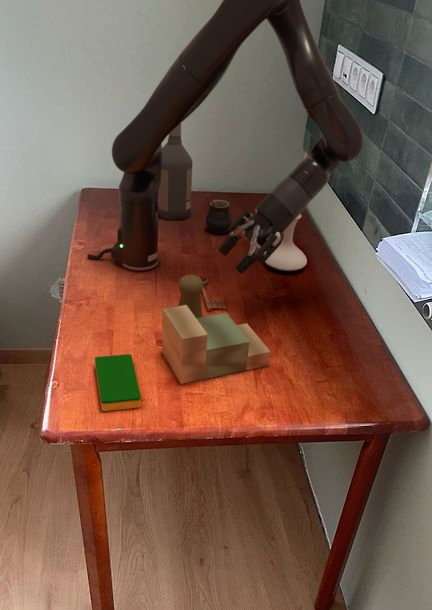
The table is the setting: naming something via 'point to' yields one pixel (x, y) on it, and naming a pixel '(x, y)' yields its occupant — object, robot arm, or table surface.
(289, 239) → the flower in vase
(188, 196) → the liquor
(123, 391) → the dish sponge
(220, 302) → the key
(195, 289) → the brown pawn figure
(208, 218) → the mate gourd
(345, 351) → the table surface
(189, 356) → the stepped block
